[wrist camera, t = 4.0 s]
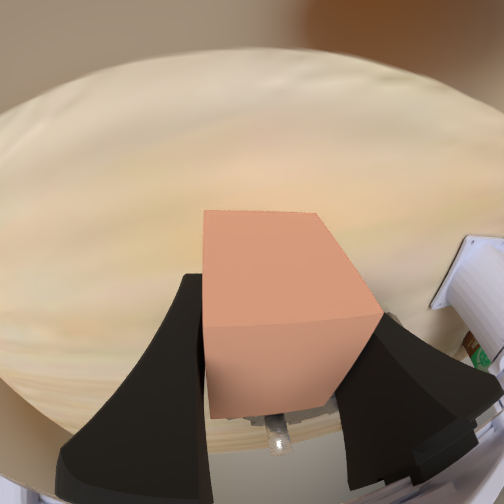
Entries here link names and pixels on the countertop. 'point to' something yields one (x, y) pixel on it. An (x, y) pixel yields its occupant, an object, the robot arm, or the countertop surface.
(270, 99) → the countertop surface
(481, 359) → the food container
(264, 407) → the link block
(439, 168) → the countertop surface
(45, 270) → the countertop surface
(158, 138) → the countertop surface
